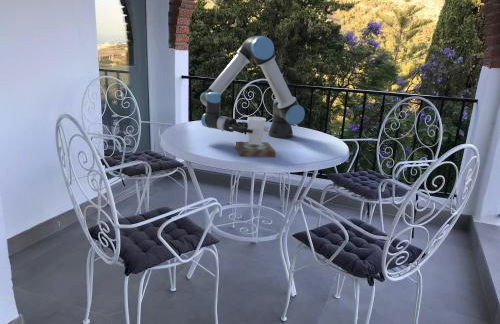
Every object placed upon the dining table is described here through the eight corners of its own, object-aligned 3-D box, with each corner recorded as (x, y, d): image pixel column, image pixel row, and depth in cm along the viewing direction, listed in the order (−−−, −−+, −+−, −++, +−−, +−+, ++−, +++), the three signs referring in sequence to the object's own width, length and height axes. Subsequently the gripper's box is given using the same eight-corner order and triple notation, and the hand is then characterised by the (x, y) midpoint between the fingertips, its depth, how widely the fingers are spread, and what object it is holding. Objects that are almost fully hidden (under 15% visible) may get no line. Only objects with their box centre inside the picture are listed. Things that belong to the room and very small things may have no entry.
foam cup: (262, 146, 209) (264, 121, 205) (244, 144, 211) (246, 119, 207) (265, 141, 218) (267, 117, 214) (248, 140, 220) (249, 116, 216)
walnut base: (268, 147, 226) (268, 141, 225) (274, 156, 209) (275, 150, 208) (235, 147, 223) (235, 141, 222) (239, 156, 206) (240, 150, 205)
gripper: (237, 127, 231) (273, 134, 220) (215, 134, 213) (252, 141, 202) (238, 114, 229) (274, 120, 218) (215, 119, 211) (253, 126, 200)
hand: (263, 130), depth 210 cm, fingers closed on foam cup, 9 cm apart
